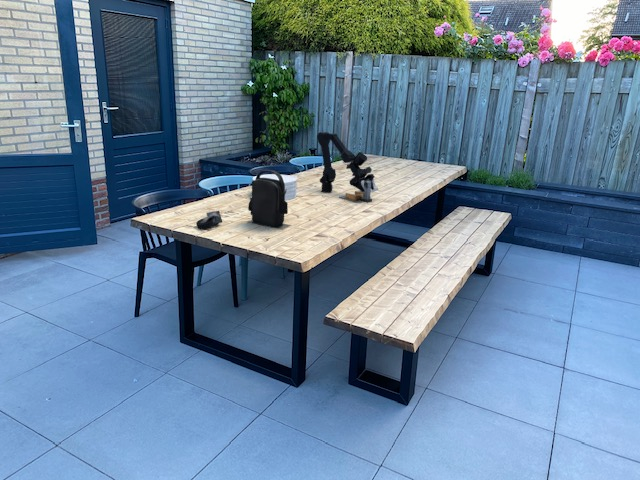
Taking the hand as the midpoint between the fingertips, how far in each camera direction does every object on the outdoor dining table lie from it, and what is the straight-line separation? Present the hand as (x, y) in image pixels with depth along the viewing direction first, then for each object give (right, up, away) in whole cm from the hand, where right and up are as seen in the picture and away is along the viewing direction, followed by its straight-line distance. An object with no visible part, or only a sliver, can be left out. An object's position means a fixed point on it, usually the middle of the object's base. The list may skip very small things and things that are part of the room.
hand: (368, 190), depth 300 cm
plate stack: (-59, -3, +9) cm, 60 cm away
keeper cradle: (-9, -4, +10) cm, 14 cm away
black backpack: (-57, -23, -51) cm, 79 cm away
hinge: (+2, +3, +32) cm, 32 cm away
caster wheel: (-86, -25, -60) cm, 107 cm away
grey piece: (-1, -6, +3) cm, 7 cm away
